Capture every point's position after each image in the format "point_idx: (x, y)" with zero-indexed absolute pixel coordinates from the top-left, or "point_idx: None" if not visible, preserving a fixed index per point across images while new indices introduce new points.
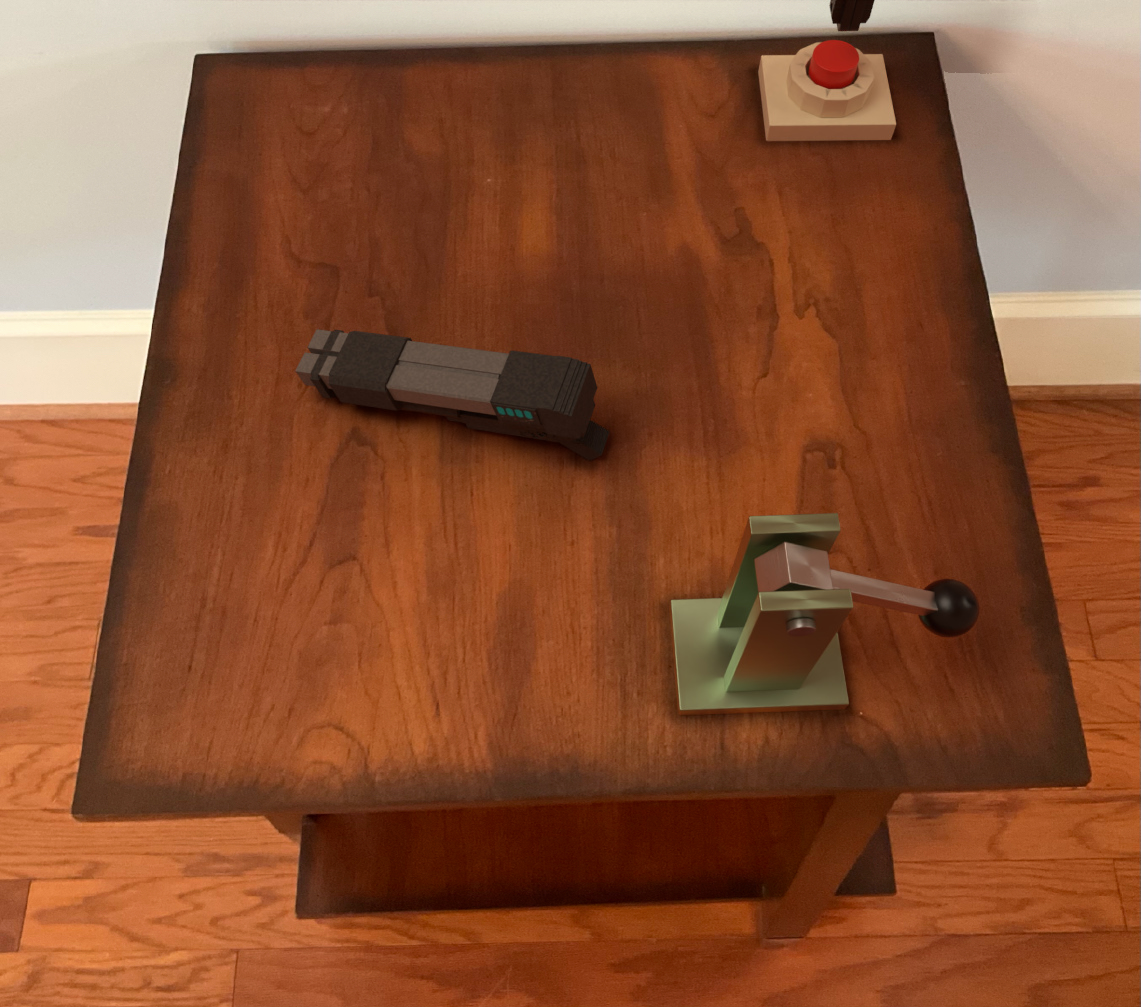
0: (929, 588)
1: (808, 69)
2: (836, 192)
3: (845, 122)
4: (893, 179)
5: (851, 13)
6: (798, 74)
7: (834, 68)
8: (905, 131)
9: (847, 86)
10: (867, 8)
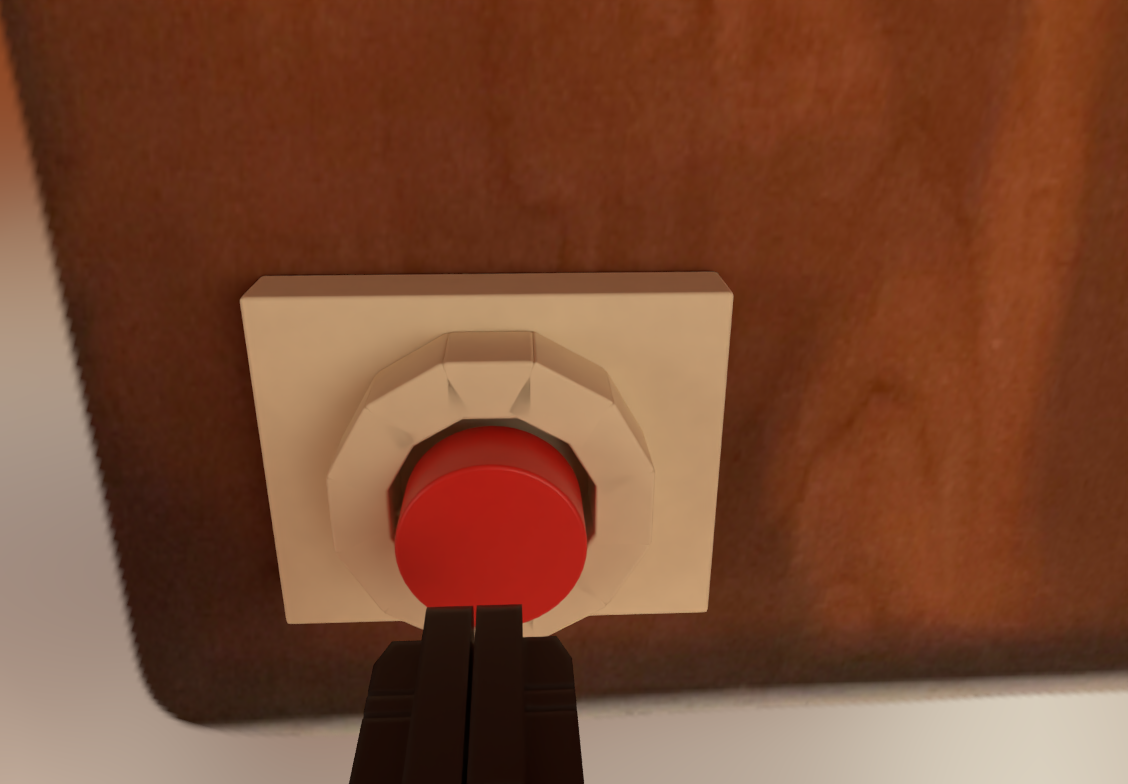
0: None
1: None
2: (482, 4)
3: (440, 305)
4: (252, 73)
5: (481, 669)
6: (628, 489)
7: (505, 481)
8: (206, 320)
9: None
10: (392, 700)
